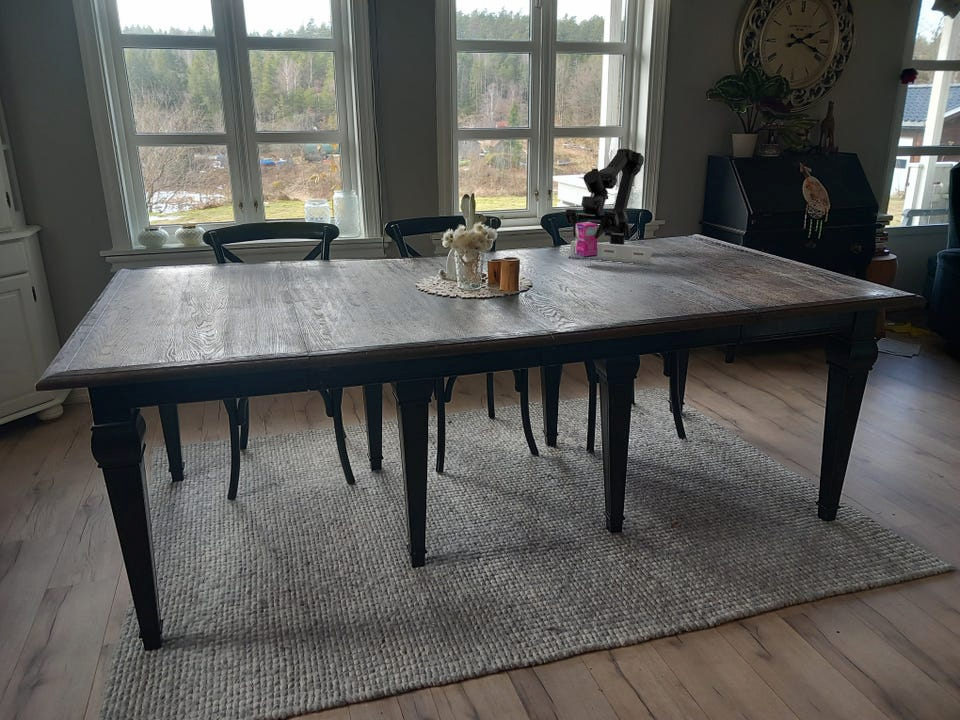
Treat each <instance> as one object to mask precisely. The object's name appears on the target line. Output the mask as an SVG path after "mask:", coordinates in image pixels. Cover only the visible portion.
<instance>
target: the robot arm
mask: <svg viewBox="0 0 960 720" xmlns="http://www.w3.org/2000/svg"><path fill="white" fill-rule="evenodd" d="M644 162H645V158H644V155H642V153H641V152H637V151H633V150H632V149H631V148H619V149H617V151H616V154H615V155H614V156H613V158H612V159H611V160H610V162H609V163H608V165H607V166H606V167H605V168H604V167H603V168H602V169H598V168H591V170H590V171H588V172H586V173H585V174H584V175H583V181H584V184H585V187H586V189H587V192H588V193H590V195H589V196H585V195H584V196H582V199H581V203H580V206H582V211H583V212H584V213H580V212H579V211H578V209H576V208H575V209H572V208H567V209H566V210H565V211H564V215H563V216H564V217H565V220H566V222H567V224H568V225H571V226H572V228H573V237H574V238H575V236H576V223H580V220H582V221H583V220H584V221H587V222H599V224H598V230H597V233H596V236H595V238H596V239H597V240H598V238H600V236H602V235H603V234H604V236H605V237H609V244H618V245H625V241H626V239H625V238H630V236H631V228H630V226H629V225H630V224H629V218H628V215H627V208H628V204H629V201H630V197H631V192H632V188H633V184H634V181H635V180H634V179H635V177H636V176H637V175H638V174H639V173H640V171H641V169H642V167H643V165H644ZM620 172H622V173H621V178H620V181H619V185H618V190H617V194H616V198H615V202H614V205H613V209H611V210H609V211H604V210H605V208H604V207H605V204H606V201H607V200H609V191H608V190H612V189H615V186H616V185H617V183H618V175H619V173H620ZM603 212H604V215H602V213H603Z"/></svg>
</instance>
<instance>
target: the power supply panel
mask: <svg viewBox="0 0 960 720" xmlns="http://www.w3.org/2000/svg"><path fill="white" fill-rule="evenodd" d="M652 249H653V247H651V246H640V245H628V244H624V245H618V244H610V243H603V242H597V256H594V257H586V258H584V257H581V256H578V255H575V240H572V241H570V252H569V253H570V255H568V257H570V258H579V259H578V260H580V259H590V260H589V261H591V260H601V261H612V262H622V263H633V264H643V265H642V266H644V265H648V264H650V263H651V262H652V263H653V260H652ZM601 261H600V262H601ZM612 262H611V263H612ZM622 263H621V264H622ZM652 263H651V264H652ZM633 264H632V265H633ZM651 264H650V265H651ZM648 266H649V265H648Z"/></svg>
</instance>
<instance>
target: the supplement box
mask: <svg viewBox="0 0 960 720" xmlns="http://www.w3.org/2000/svg"><path fill="white" fill-rule="evenodd" d="M598 227H599V224H598V223H594V222H592V221H585V222H579V223H576V236H575V237H574V239H575V240H574V241H575V255H578V256H581V257H584V258H586V257H594V256H597V243H598V238H597V239H596V238H595V236H596V233H597V230H598Z"/></svg>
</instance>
